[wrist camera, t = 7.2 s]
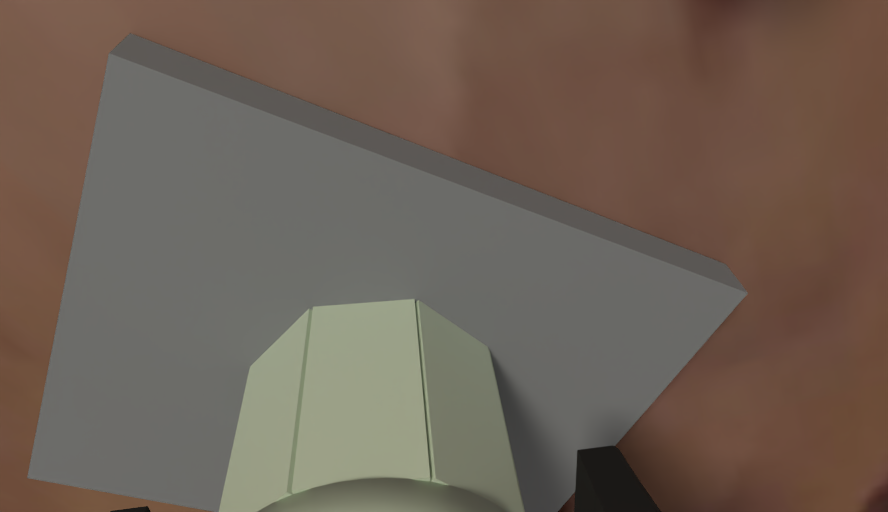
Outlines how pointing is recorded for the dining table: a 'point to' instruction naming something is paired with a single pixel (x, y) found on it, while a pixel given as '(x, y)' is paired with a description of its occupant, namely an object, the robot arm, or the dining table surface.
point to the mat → (331, 282)
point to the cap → (372, 418)
